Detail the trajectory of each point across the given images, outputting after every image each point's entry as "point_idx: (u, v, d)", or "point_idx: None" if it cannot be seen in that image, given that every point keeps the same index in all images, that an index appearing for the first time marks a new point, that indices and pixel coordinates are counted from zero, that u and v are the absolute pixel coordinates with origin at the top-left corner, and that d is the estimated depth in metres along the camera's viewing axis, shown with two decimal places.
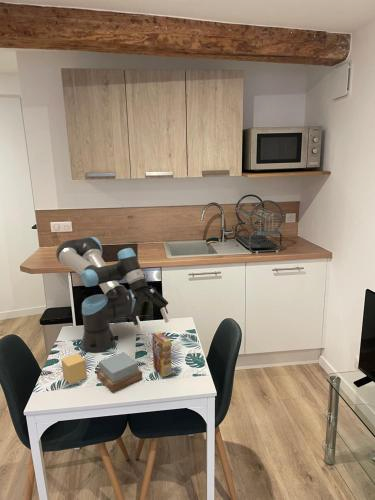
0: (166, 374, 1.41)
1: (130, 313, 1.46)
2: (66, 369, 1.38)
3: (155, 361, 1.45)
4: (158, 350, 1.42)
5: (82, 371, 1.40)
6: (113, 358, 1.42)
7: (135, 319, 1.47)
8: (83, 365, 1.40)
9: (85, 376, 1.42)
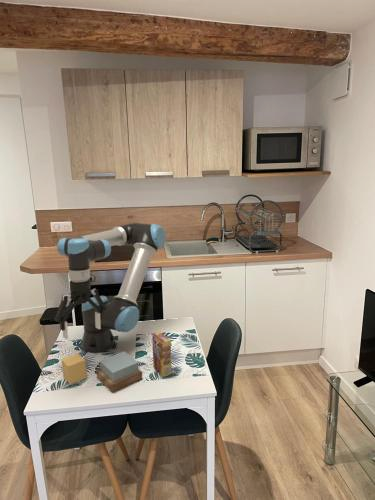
0: (166, 374, 1.41)
1: (59, 318, 1.29)
2: (66, 369, 1.38)
3: (155, 361, 1.45)
4: (158, 350, 1.42)
5: (82, 371, 1.40)
6: (113, 358, 1.42)
7: (63, 325, 1.31)
8: (83, 365, 1.40)
9: (85, 376, 1.42)
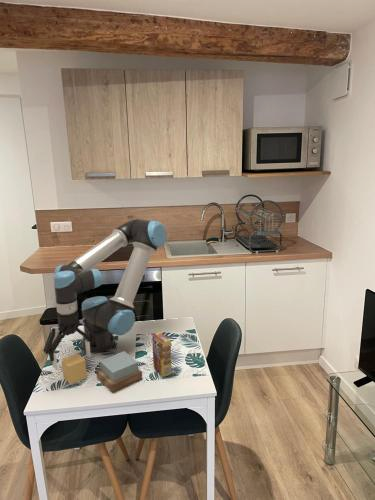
0: (166, 374, 1.41)
1: (48, 350, 1.32)
2: (66, 369, 1.38)
3: (155, 361, 1.45)
4: (158, 350, 1.42)
5: (82, 371, 1.40)
6: (113, 357, 1.42)
7: (52, 356, 1.34)
8: (83, 365, 1.40)
9: (85, 376, 1.42)
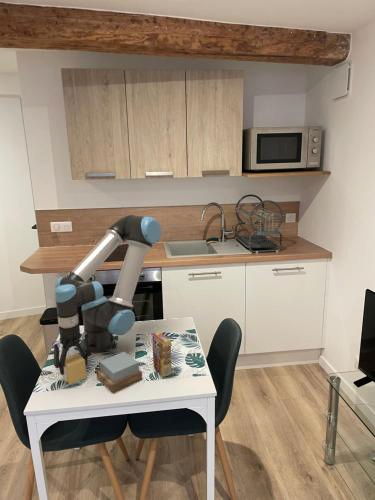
0: (166, 374, 1.41)
1: (57, 364, 1.36)
2: None
3: (155, 361, 1.45)
4: (158, 350, 1.42)
5: (81, 371, 1.40)
6: (113, 358, 1.42)
7: (62, 369, 1.38)
8: (83, 365, 1.40)
9: (85, 376, 1.42)
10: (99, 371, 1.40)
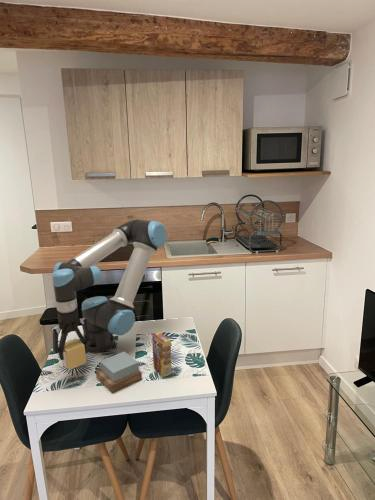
0: (166, 374, 1.41)
1: (57, 350, 1.34)
2: None
3: (155, 361, 1.45)
4: (158, 350, 1.42)
5: (81, 357, 1.39)
6: (113, 358, 1.42)
7: (61, 355, 1.37)
8: (82, 351, 1.39)
9: (85, 361, 1.41)
10: (99, 371, 1.40)
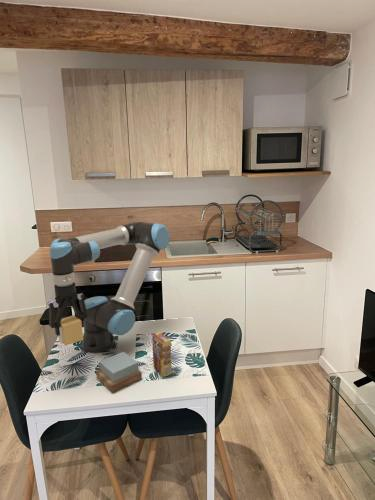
0: (166, 374, 1.41)
1: (53, 324, 1.32)
2: None
3: (155, 361, 1.45)
4: (158, 350, 1.42)
5: (78, 333, 1.36)
6: (113, 358, 1.42)
7: (58, 330, 1.34)
8: (79, 326, 1.36)
9: (81, 338, 1.38)
10: (99, 371, 1.40)
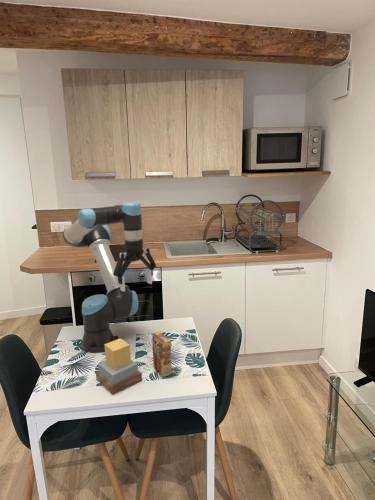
0: (166, 374, 1.41)
1: (118, 273, 1.46)
2: (110, 354, 1.34)
3: (155, 361, 1.45)
4: (158, 350, 1.42)
5: (126, 357, 1.36)
6: None
7: (120, 279, 1.48)
8: (127, 351, 1.36)
9: (129, 361, 1.37)
10: (98, 372, 1.39)
